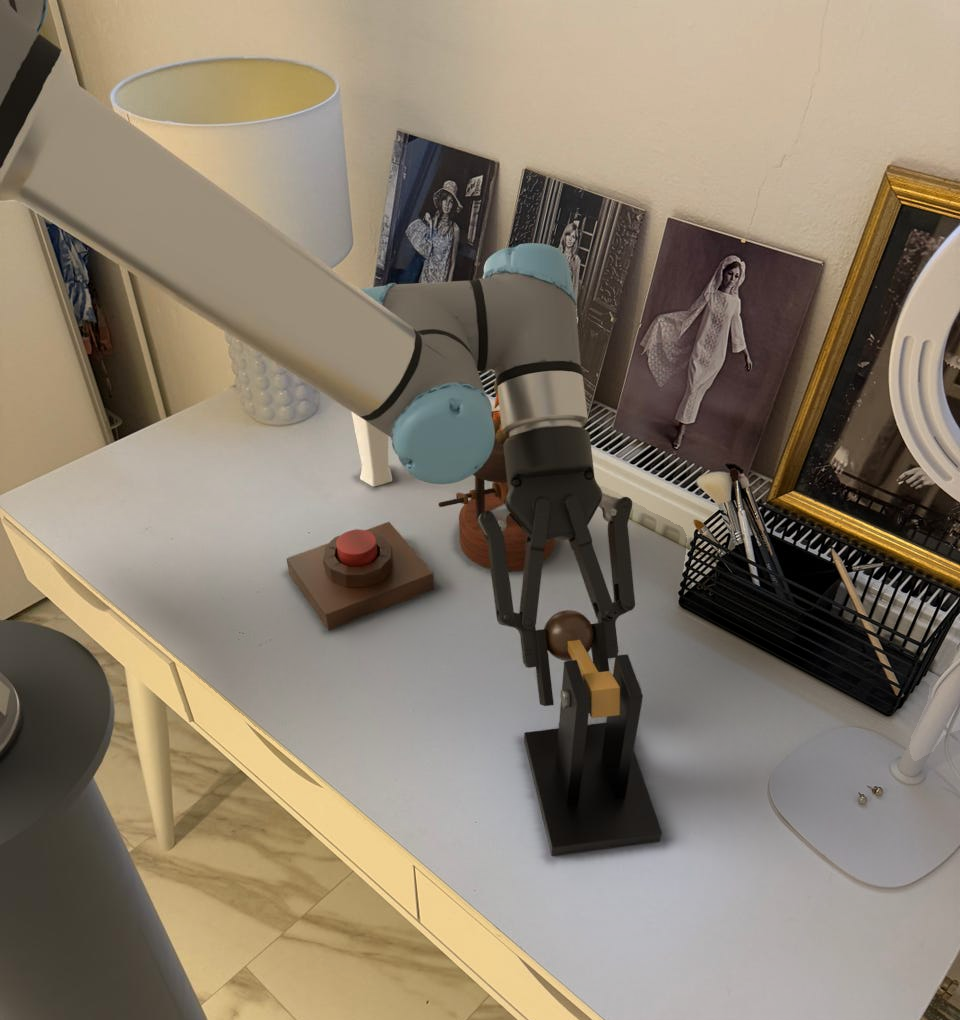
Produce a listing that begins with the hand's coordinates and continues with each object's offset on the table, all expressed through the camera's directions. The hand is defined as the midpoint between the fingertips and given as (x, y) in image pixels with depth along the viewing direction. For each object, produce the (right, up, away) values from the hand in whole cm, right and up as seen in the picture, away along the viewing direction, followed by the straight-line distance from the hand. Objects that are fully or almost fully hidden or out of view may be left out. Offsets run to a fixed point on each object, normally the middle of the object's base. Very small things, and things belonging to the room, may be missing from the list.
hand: (575, 700), depth 83 cm
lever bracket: (+1, -7, -2) cm, 8 cm away
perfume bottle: (-20, +25, +31) cm, 44 cm away
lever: (0, +2, -4) cm, 4 cm away
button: (-21, +14, +15) cm, 29 cm away
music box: (-6, +16, +22) cm, 28 cm away
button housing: (-21, +11, +17) cm, 29 cm away
